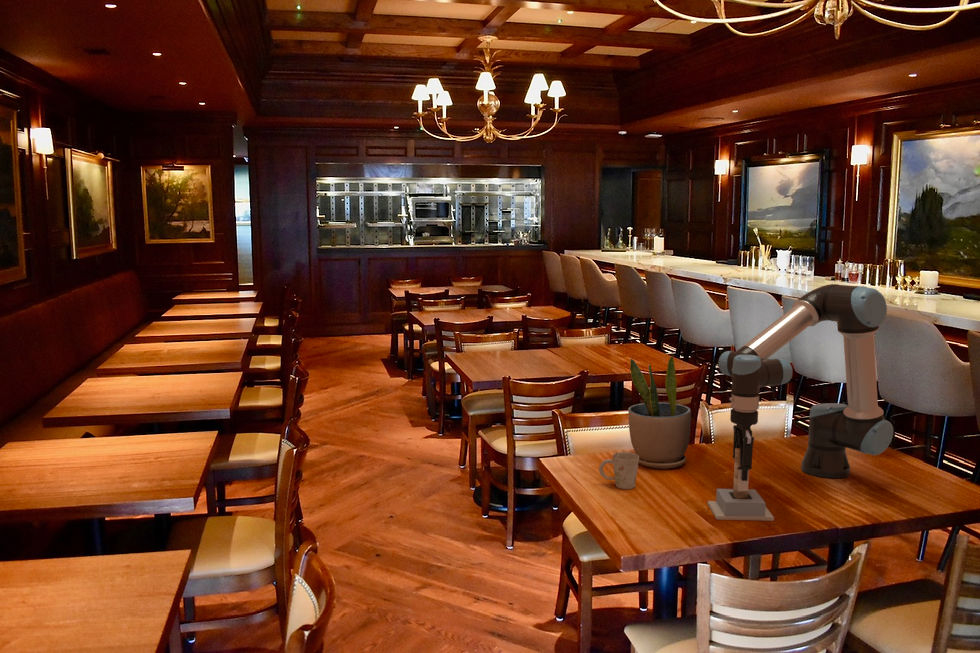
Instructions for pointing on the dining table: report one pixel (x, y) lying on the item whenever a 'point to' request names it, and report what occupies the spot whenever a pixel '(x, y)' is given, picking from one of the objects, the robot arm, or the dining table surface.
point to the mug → (623, 469)
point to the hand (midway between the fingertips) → (740, 487)
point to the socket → (739, 506)
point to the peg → (737, 493)
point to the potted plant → (658, 422)
